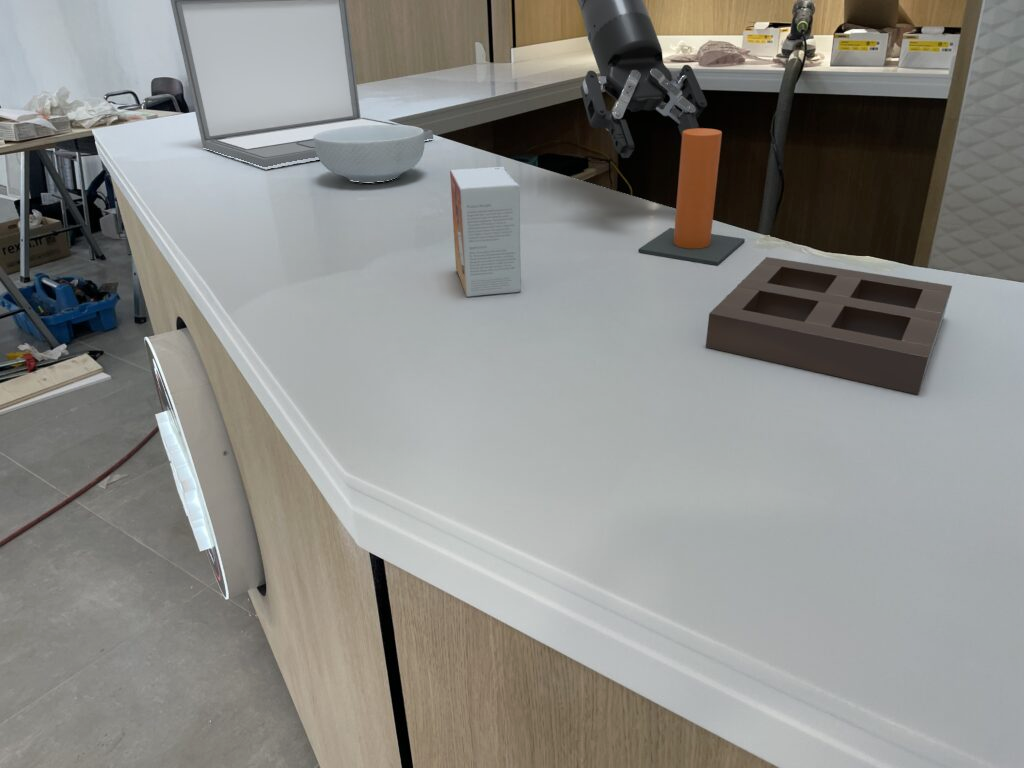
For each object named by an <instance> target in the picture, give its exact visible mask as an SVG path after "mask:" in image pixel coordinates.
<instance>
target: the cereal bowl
mask: <svg viewBox="0 0 1024 768" xmlns="http://www.w3.org/2000/svg"><path fill="white" fill-rule="evenodd" d="M423 129H424V128H421V127H419V126H414V125H408V124H407V125H404V124H399V125H365V126H354V127H346V128H339V129H333V130H328V131H324V132H321V133H318V134H316V135H314V145H315V150H316V154H317V156H318V158H319V160H320V161H319V162H320V163H321V165H323V167H325V169H327V170H328V171H329V172H331V173H333V174H335V175H338V176H340V177H343V178H344V177H345V178H347V180H348V179H349V180H353V181H359V182H377V181H387V180H391V179H394V178H397V177H398V176H399V175H401V174H403V173H405V172H407V171H409V170H412V169H413V168H415V167H416V166H417V165H418V163H419V162H420V161H421V159H422V157H423V156H424V151H425V143H426V142H425V141H424V139H425V138H424V131H423ZM399 177H400V176H399ZM399 177H398V178H399ZM398 178H397V179H398ZM349 180H348V181H349Z"/></svg>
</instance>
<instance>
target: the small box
mask: <svg viewBox="0 0 1024 768" xmlns="http://www.w3.org/2000/svg"><path fill="white" fill-rule="evenodd" d="M449 176H450V177H449V178H450V193H451V207H452V209H451V210H452V225H453V242H454V243H453V244H454V258H455V259H454V260H455V270H456V272H457V275H458V277H459V279H460V283H461V286H462V288H463V292H464V294H465V297H467V298H468V297H478V296H479V297H480V296H487V295H498V294H510V293H519V292H521V291H522V267H521V266H522V264H521V262H522V261H521V209H520V208H521V200H520V199H521V198H520V197H521V196H520V193H521V191H520V188H521V187H520V185H519V184H518V182H516V180H515V179H513V177H512V176H511V175H510V174H509V172H508V171H507V169H506V167H505V166H494V167H493V166H492V167H476V168H459V169H451V170H450V171H449Z"/></svg>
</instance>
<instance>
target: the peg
mask: <svg viewBox="0 0 1024 768" xmlns="http://www.w3.org/2000/svg"><path fill="white" fill-rule="evenodd" d="M722 137H723V132H722V130H719V129H715V128H707V127H706V128H704V127H699V128H696V129H687V130H684V131H683V132H682V136H681V144H680V155H679V157H680V158H679V167H678V169H679V170H678V183H677V192H676V193H677V195H676V207H675V217H674V219H675V220H674V244H675V245H676V246H678V247H682V248H687V249H700V248H705V247H708V246H709V245H710V240H711V234H712V232H713V231H712V230H713V221H714V212H715V201H716V194H717V193H716V192H717V183H718V174H719V164H720V154H721V147H722Z"/></svg>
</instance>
